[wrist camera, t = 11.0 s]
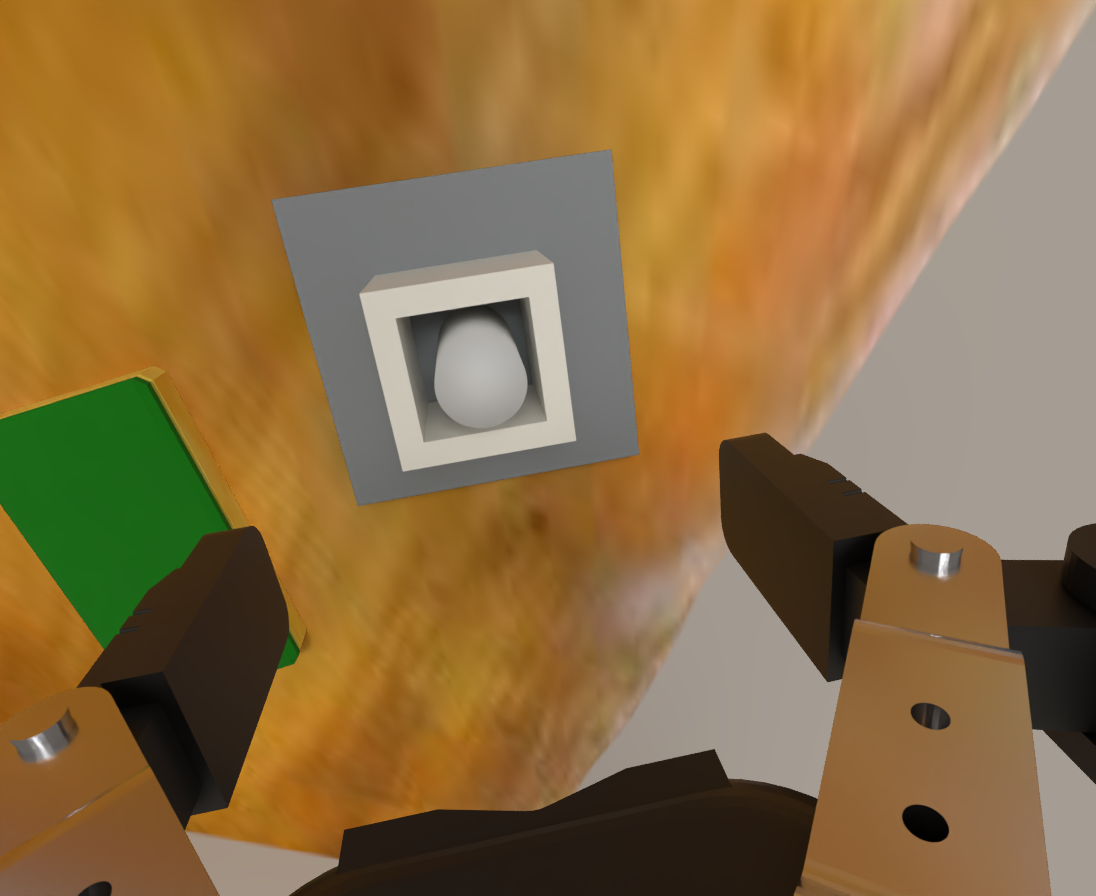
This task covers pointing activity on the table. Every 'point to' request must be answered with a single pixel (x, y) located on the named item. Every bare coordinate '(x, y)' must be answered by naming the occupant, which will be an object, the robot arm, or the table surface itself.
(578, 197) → the post stand
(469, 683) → the table surface
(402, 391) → the ring
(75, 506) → the dish sponge
